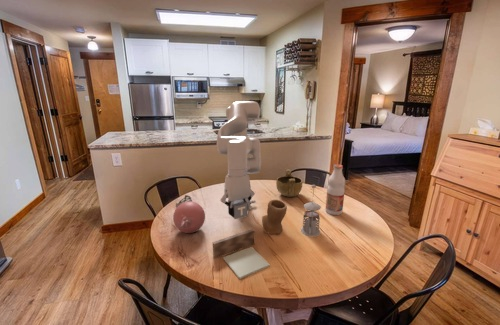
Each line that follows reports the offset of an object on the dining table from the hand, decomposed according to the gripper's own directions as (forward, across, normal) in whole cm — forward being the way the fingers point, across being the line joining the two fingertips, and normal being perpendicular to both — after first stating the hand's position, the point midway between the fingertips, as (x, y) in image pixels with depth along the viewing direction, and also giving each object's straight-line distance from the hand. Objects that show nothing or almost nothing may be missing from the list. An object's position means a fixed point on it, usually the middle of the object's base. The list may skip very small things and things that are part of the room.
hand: (238, 213), depth 105 cm
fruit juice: (+20, -66, -8) cm, 70 cm away
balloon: (+20, +13, -28) cm, 37 cm away
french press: (+20, -39, +2) cm, 44 cm away
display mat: (+20, 0, +5) cm, 21 cm away
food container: (+20, +8, -46) cm, 51 cm away
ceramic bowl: (+20, -59, -40) cm, 73 cm away
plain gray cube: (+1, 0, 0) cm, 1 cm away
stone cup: (+20, -26, -11) cm, 35 cm away
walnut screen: (+20, 0, -5) cm, 21 cm away
